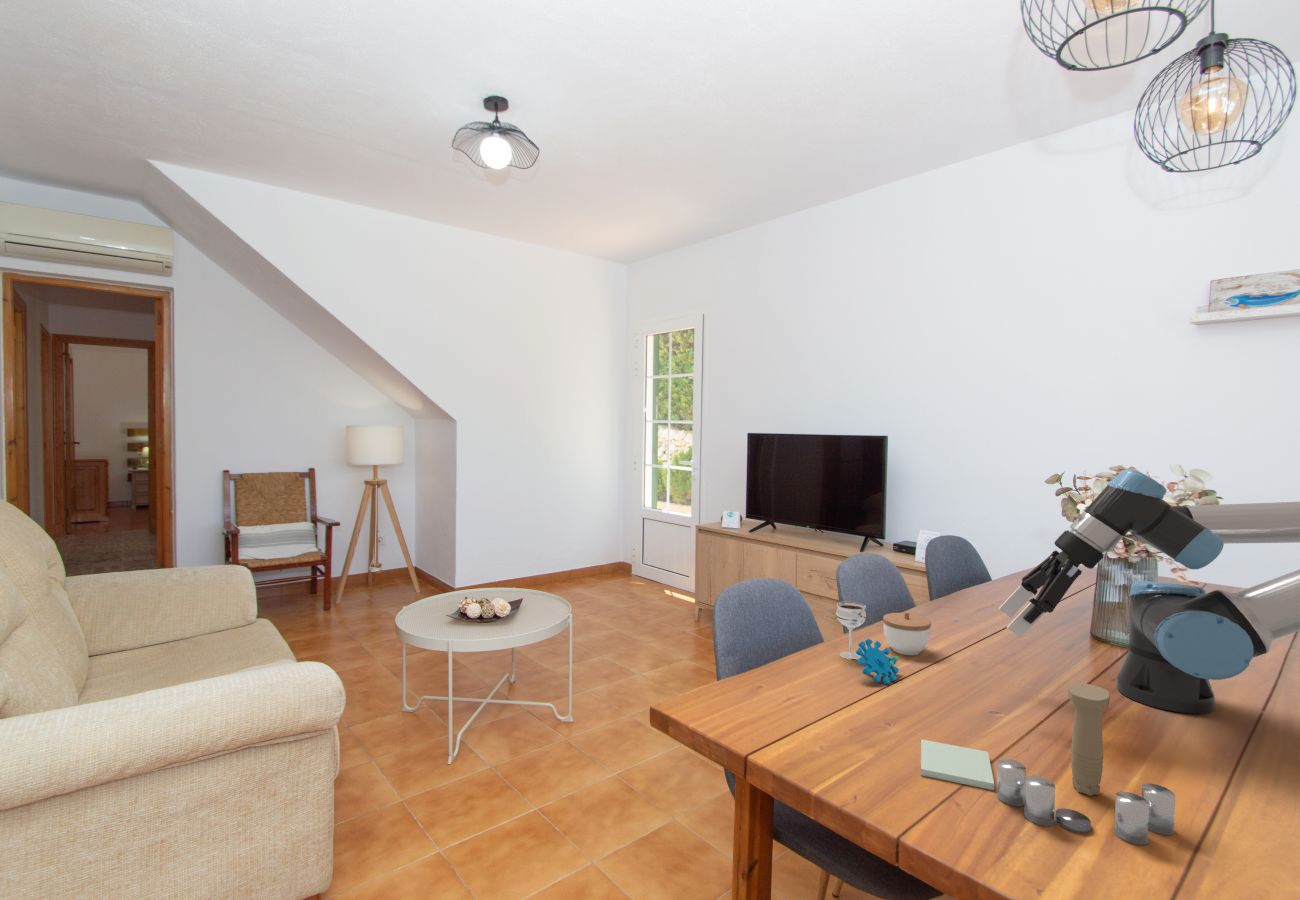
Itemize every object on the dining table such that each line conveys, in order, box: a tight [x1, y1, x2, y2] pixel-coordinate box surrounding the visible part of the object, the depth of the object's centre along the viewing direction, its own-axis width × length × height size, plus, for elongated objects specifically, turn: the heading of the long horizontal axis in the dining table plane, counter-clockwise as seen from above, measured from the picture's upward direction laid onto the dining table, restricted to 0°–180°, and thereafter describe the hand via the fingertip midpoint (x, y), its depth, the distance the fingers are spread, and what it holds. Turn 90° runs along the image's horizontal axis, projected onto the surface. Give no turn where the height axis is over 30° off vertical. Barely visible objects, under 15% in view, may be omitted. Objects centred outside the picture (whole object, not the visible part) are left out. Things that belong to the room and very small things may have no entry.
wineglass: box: [835, 601, 867, 660], centre depth 147 cm, size 7×7×12 cm
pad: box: [920, 739, 995, 791], centre depth 99 cm, size 10×10×1 cm
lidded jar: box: [882, 611, 932, 656], centre depth 150 cm, size 11×11×9 cm
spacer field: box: [996, 758, 1176, 846], centre depth 86 cm, size 21×8×5 cm, turn 66°
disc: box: [1054, 807, 1092, 835], centre depth 85 cm, size 4×4×1 cm
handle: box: [1067, 682, 1111, 797], centre depth 92 cm, size 5×6×15 cm
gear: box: [855, 638, 900, 685], centre depth 135 cm, size 11×6×10 cm
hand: (1008, 622), depth 124 cm, fingers open, 13 cm apart
